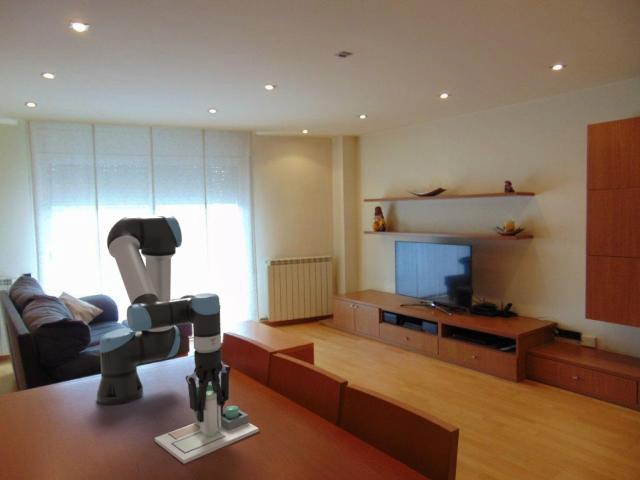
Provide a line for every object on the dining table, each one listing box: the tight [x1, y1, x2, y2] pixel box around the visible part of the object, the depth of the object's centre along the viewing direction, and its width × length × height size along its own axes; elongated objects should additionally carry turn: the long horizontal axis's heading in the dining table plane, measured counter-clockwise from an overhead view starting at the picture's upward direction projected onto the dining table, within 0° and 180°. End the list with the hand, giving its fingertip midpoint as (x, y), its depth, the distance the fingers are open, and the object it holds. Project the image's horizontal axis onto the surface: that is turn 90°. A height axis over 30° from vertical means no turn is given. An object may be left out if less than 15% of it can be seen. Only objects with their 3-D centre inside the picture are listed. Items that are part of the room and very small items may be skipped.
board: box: [154, 409, 260, 464], centre depth 134 cm, size 17×24×4 cm
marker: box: [204, 391, 218, 437], centre depth 133 cm, size 4×4×12 cm
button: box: [224, 405, 240, 420], centre depth 140 cm, size 4×4×3 cm
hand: (210, 428), depth 133 cm, fingers closed on marker, 4 cm apart
